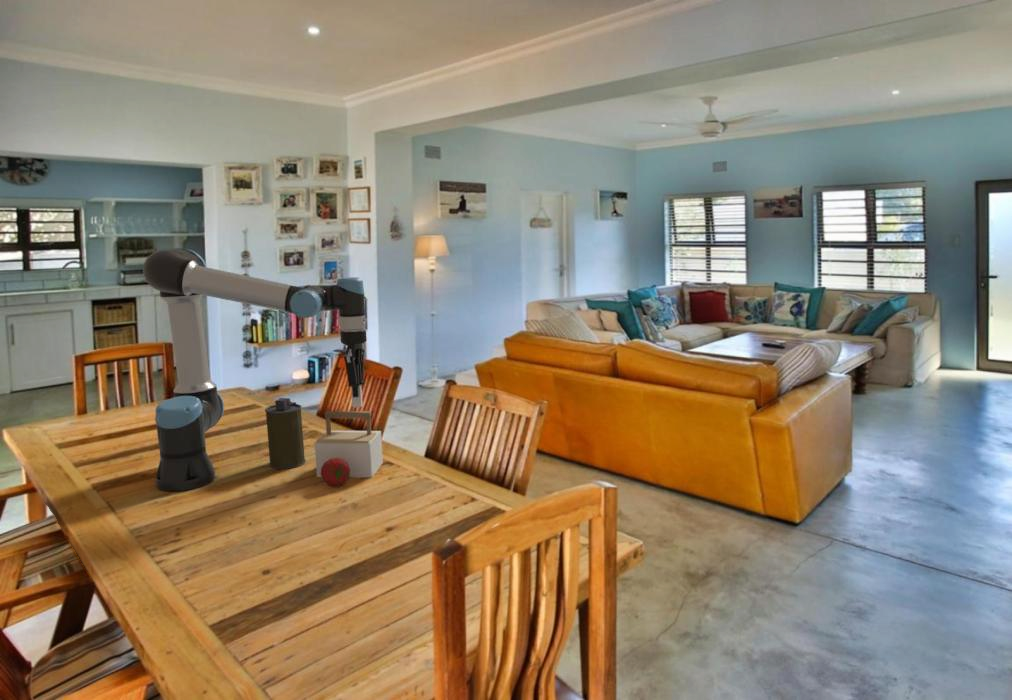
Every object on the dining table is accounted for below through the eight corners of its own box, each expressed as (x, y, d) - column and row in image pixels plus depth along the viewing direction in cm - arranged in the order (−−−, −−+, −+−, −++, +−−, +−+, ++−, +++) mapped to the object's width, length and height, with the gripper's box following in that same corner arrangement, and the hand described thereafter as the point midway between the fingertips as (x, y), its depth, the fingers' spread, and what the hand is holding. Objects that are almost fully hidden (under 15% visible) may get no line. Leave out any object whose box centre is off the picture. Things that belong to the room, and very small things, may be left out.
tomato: (327, 451, 186) (335, 453, 179) (350, 464, 189) (359, 467, 182) (312, 477, 183) (319, 480, 177) (336, 490, 187) (344, 493, 180)
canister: (294, 470, 196) (289, 404, 192) (262, 468, 198) (257, 403, 194) (312, 457, 206) (307, 395, 203) (281, 456, 209) (276, 394, 205)
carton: (316, 476, 190) (314, 443, 189) (331, 462, 202) (328, 430, 200) (371, 477, 189) (369, 443, 187) (382, 462, 201) (381, 430, 199)
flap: (316, 442, 189) (314, 417, 187) (325, 434, 196) (324, 409, 195) (368, 442, 188) (367, 417, 186) (375, 434, 195) (374, 410, 194)
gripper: (359, 333, 192) (363, 412, 196) (371, 326, 204) (375, 401, 209) (333, 333, 192) (338, 412, 196) (347, 326, 205) (352, 401, 209)
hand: (357, 406), depth 203 cm, fingers closed
